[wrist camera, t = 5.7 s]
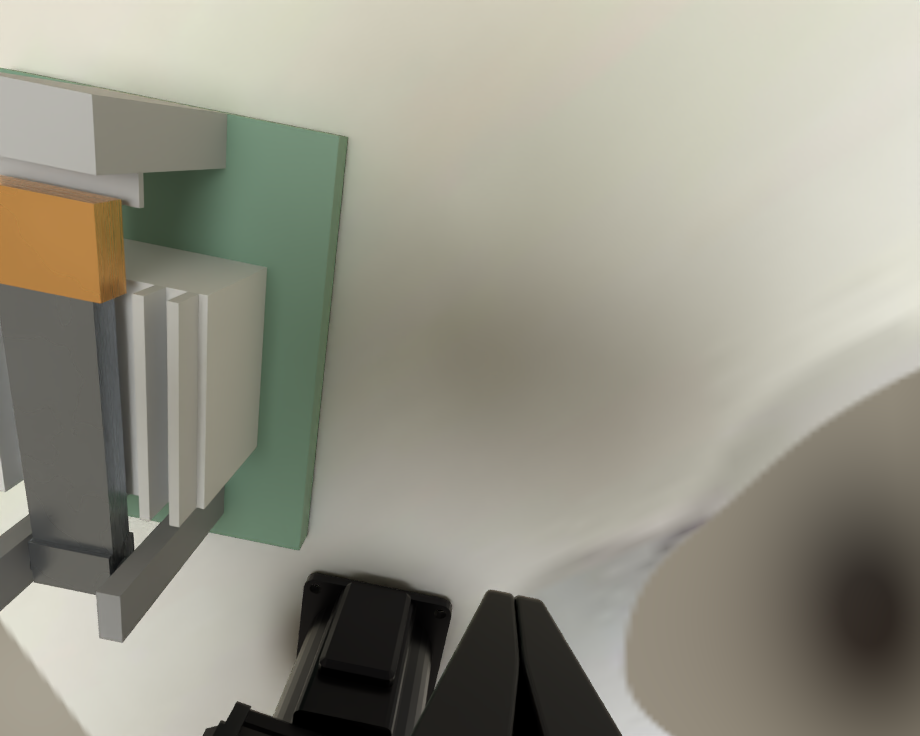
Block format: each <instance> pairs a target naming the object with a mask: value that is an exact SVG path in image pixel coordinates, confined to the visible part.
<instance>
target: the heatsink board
mask: <svg viewBox="0 0 920 736" xmlns="http://www.w3.org/2000/svg"><path fill="white" fill-rule="evenodd" d="M347 141H348V137H345V136H340V135H335V134H330V133H325V132H320V131H315V130H310V129H305V128H300V127H295V126H290V125H285V124H280V123H275V122H270V121H265V120H260V119H255V118H250V117H245V116H240V115H235V114H230V113H225V112H220V111H215V110H210V109H205V108H200V107H195V106H190V105H185V104H180V103H175V102H170V101H165V100H161V99H156V98H151V97H146V96H141V95H136V94H131V93H126V92H121V91H116V90H111V89H106V88H101V87H96V86H91V85H86V84H81V83H76V82H71V81H66V80H61V79H56V78H51V77H46V76H41V75H36V74H31V73H26V72H21V71H16V70H10V69H4V68H0V175H3V176H8V177H13V178H17V179H22V180H27V181H32V182H37V183H42V184H47V185H52V186H57V187H62V188H67V189H72V190H77V191H82V192H87V193H92V194H97V195H102V196H107V197H112V198H117V199H122V218H123V236H124V254H125V273H126V291H127V293H126V294H123V295H121V296H119V297H116V298H114V306H115V321H116V337H117V352H118V368H119V384H120V399H121V415H122V430H123V446H124V462H125V477H126V493H127V508H128V516H131V517H136V518H140V520H145V521H150V520H151V521H156V522H161V523H160V524H159V525H158V526H157V527H156V528H155V529H154V530H153V531H152V532H151V533H150V534H149V536H148V537H147V538H146V539H145V540H144V541H143V542H142V543H141V544H140V545H139V546H138V547H137V548H136V549H135V551H134V552H133V553H132V554H131V555H130V556H129V557H128V558H127V559H126V560H125V561H124V562H123V563H122V564H121V566H120V567H119V568H118V569H117V570H116V571H115V572H114V573H113V574H112V575H111V576H110V577H109V578H108V579H107V581H106V582H105V583H104V584H103V585H102V586H101V587H100V588H99V589H98V590H97V591H96V599H97V612H98V625H99V638H101V639H106V640H111V641H116V642H121V643H123V642H124V640H125V639H126V638H127V636H128V635H129V634H130V633H131V631H132V630H133V629H134V627H135V626H136V625H137V624H138V622H139V621H140V620H141V618H142V617H143V616H144V615H145V613H146V612H147V611H148V610H149V608H150V607H151V606H152V604H153V603H154V602H155V601H156V599H157V598H158V597H159V595H160V594H161V593H162V592H163V590H164V589H165V588H166V586H167V585H168V584H169V583H170V581H171V580H172V579H173V578H174V576H175V575H176V574H177V572H178V571H179V570H180V569H181V567H182V566H183V565H184V563H185V562H186V561H187V560H188V558H189V557H190V556H191V554H192V553H193V552H194V551H195V549H196V548H197V547H198V546H199V544H200V543H201V542H202V540H203V539H204V538H205V537H206V535H207V534H208V533H209V532H210V533H215V534H220V535H225V536H230V537H235V538H240V539H245V540H250V541H255V542H260V543H265V544H270V545H275V546H280V547H285V548H289V549H294V550H300V548H301V546H302V544H303V542H304V540H305V538H306V536H307V532H308V522H309V513H310V503H311V493H312V483H313V473H314V464H315V454H316V444H317V434H318V425H319V415H320V405H321V395H322V385H323V376H324V366H325V356H326V346H327V337H328V327H329V317H330V307H331V297H332V288H333V278H334V268H335V258H336V249H337V239H338V229H339V219H340V209H341V200H342V190H343V180H344V170H345V161H346V151H347ZM22 480H24V476H23V469H22V462H21V456H20V449H19V443H18V436H17V429H16V423H15V416H14V409H13V403H12V396H11V389H10V383H9V376H8V369H7V363H6V356H5V349H4V343H3V336H2V329H1V323H0V491H2V492H6V491H8V490H9V489H11V488H12V487H14V486H15V485H17V484H18V483H20V482H21V481H22ZM32 538H33V536H32V529H31V522H30V516H29V515H27V516H26V517H25V518H23V519H22V520H21V521H19V522H18V523H17V524H15V525H14V526H13V527H11V528H10V529H9V530H7V531H6V532H5V533H3V534H2V535H1V536H0V611H1V610H2V609H3V608H4V607H5V606H7V605H8V604H9V603H10V602H11V601H12V600H13V599H14V598H15V597H16V596H18V595H19V594H20V593H21V592H22V591H23V590H24V589H25V588H26V587H27V586H29V585H30V584H31V583H32V582H33V581H34V580H33V574H32V571H31V569H30V554H29V548H28V542H29V541H30V540H31V539H32Z"/></svg>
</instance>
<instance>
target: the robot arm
mask: <svg viewBox="0 0 920 736" xmlns="http://www.w3.org/2000/svg"><path fill="white" fill-rule="evenodd" d="M314 584H316V585H319V586H320V587H317V586H315V585H314ZM437 610H443V612H440V611H437ZM451 614H452V605H451V603H450V602H449V601H448V600H446V599H443V598H438V597H433V596H428V595H423V594H418V593H413V592H408V591H403V590H398V589H393V588H388V587H384V586H379V585H374V584H369V583H364V582H359V581H354V580H349V579H344V578H339V577H334V576H329V575H324V574H319V573H314V574H311V575H310V576H309V577H308V579H307V581H306V583H305V585H304V592H303V601H302V611H301V620H300V630H299V640H298V649H297V659H296V662H295V664H294V667H293V669H292V671H291V674H290V676H289V679H288V681H287V684H286V686H285V688H284V691H283V693H282V696H281V698H280V701H279V703H278V705H277V708H276V710H275V713H274V715H273V717H272V716H269V715H266V714H263V713H260V712H257V711H255V710H252V709H251V706H249V705H246V704H244V703H241V702H238V701H237V702H236V704H235V706H234V708H233V710H232V712H231V713H230V715H229V717H228V719H227V721H226V722H225V721H222V720H221V721H220V723H219V725H218V726H215V727H211V728H207V729H206V730H205V732H204V734H203V736H622V734H621V733H620V731H619V729H618V728H617V726H616V724H615V723H614V721H613V719H612V718H611V716H610V714H609V712H608V711H607V709H606V707H605V706H604V704H603V702H602V701H601V699H600V697H599V696H598V694H597V692H596V691H595V689H594V687H593V686H592V684H591V682H590V680H589V679H588V677H587V675H586V674H585V672H584V670H583V669H582V667H581V665H580V664H579V662H578V660H577V659H576V657H575V655H574V654H573V652H572V650H571V648H570V647H569V645H568V643H567V642H566V640H565V638H564V637H563V635H562V633H561V632H560V630H559V628H558V627H557V625H556V623H555V622H554V620H553V618H552V616H551V615H550V613H549V611H548V610H547V608H546V606H545V605H544V603H543V602H542V601H541V600H539V599H535V598H530V597H525V596H520V595H518V596H516V597H515V598H514V597H513V595H512V594H510V593H506V592H501V591H496V590H488V591H487V592H486V594H485V595H484V597H483V599H482V601H481V603H480V605H479V607H478V609H477V611H476V612H475V614H474V616H473V618H472V620H471V622H470V624H469V626H468V627H467V629H466V631H465V633H464V635H463V637H462V639H461V641H460V642H459V644H458V646H457V648H456V650H455V652H454V654H453V656H452V657H451V659H450V661H449V663H448V665H447V667H446V669H445V671H444V672H443V674H442V676H441V678H440V680H439V682H438V684H437V686H436V687H435V683H436V679H437V675H438V670H439V666H440V662H441V658H442V653H443V649H444V645H445V641H446V636H447V632H448V628H449V624H450V620H451ZM434 687H435V689H434Z"/></svg>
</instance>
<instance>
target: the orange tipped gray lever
mask: <svg viewBox="0 0 920 736" xmlns="http://www.w3.org/2000/svg"><path fill="white" fill-rule="evenodd" d="M126 293H127V291H126V273H125V254H124V236H123V218H122V199H117V198H112V197H107V196H102V195H97V194H92V193H87V192H82V191H77V190H72V189H67V188H62V187H57V186H52V185H47V184H42V183H37V182H32V181H27V180H22V179H17V178H13V177H8V176H3V175H0V323H1V329H2V336H3V343H4V349H5V356H6V363H7V369H8V376H9V383H10V389H11V396H12V403H13V409H14V416H15V423H16V429H17V436H18V443H19V449H20V456H21V462H22V469H23V476H24V482H25V489H26V496H27V502H28V509H29V516H30V522H31V529H32V536H33V538H32V539H31V540H30V541H29V542H28V548H29V554H30V569H31V571H32V574H33V580H34V582H35V583H40V584H45V585H50V586H55V587H60V588H65V589H70V590H74V591H79V592H84V593H89V594H94V595H96V591H97V590H98V589H99V588H100V587H101V586H102V585H103V584H104V583H105V582H106V581H107V579H108V578H109V577H110V576H111V575H112V574H113V573H114V572H115V571H116V570H117V569H118V568H119V567H120V566H121V564H122V563H123V562H124V561H125V560H126V559H127V558H128V557H129V556H130V555H131V554H132V553H133V552H134V537H133V533H132V532H129V524H128V508H127V493H126V477H125V462H124V446H123V430H122V415H121V399H120V384H119V368H118V352H117V337H116V321H115V306H114V298H116V297H119V296H121V295H123V294H126Z"/></svg>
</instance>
